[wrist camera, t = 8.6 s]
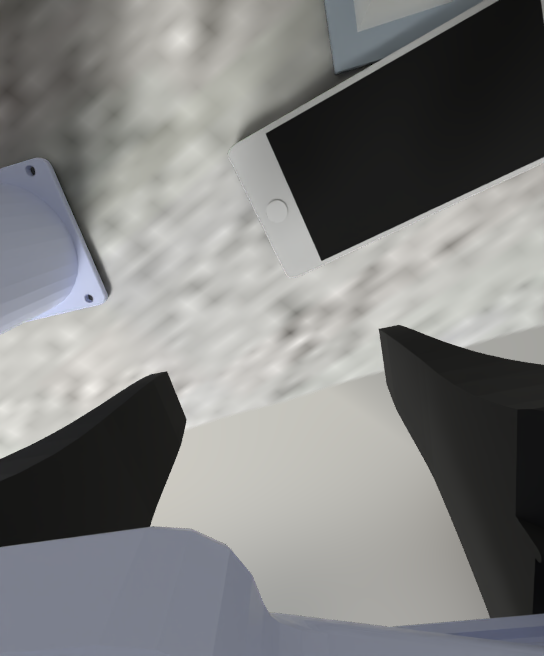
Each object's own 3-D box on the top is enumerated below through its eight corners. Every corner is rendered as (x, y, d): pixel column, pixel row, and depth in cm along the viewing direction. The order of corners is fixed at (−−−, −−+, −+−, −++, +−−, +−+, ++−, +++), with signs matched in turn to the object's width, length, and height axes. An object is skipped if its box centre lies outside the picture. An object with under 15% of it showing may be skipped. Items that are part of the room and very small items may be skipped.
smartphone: (226, 150, 17) (224, 149, 16) (563, -43, 14) (582, -57, 13) (288, 276, 20) (289, 282, 19) (582, 139, 16) (599, 138, 16)
